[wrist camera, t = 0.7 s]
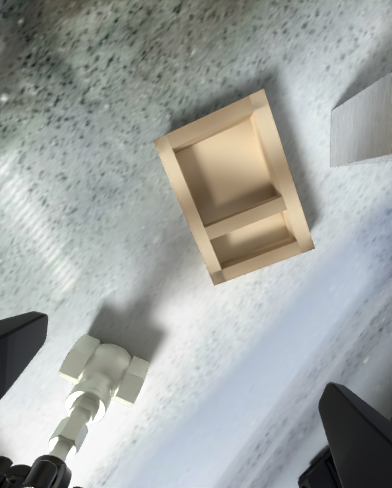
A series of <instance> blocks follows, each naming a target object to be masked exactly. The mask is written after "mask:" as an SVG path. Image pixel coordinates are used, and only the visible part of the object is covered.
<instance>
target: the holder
mask: <svg viewBox="0 0 392 488" xmlns="http://www.w3.org/2000/svg"><path fill="white" fill-rule="evenodd" d="M153 142H154V144H155V147H156V149H157V151H158V154H159V156H160V159H161V161H162V163H163V166H164V168H165V170H166V173H167V175H168V177H169V180H170V182H171V185H172V187H173V189H174V192H175V194H176V196H177V199H178V201H179V203H180V206H181V208H182V211H183V213H184V215H185V218H186V220H187V222H188V225H189V227H190V229H191V232H192V234H193V237H194V239H195V241H196V244H197V246H198V248H199V251H200V253H201V255H202V258H203V260H204V263H205V265H206V267H207V270H208V272H209V274H210V277H211V279H212V281H213V284H214V286H215V285H217V284H220V283H223V282H225V281H228V280H231V279H233V278H236V277H239V276H242V275H244V274H247V273H250V272H252V271H255V270H258V269H261V268H263V267H266V266H269V265H271V264H274V263H277V262H279V261H282V260H285V259H288V258H290V257H293V256H296V255H298V254H301V253H304V252H307V251H309V250H312V249H315V247H314V244H313V241H312V238H311V235H310V232H309V228H308V225H307V222H306V219H305V216H304V213H303V210H302V207H301V203H300V200H299V197H298V194H297V191H296V188H295V185H294V182H293V178H292V175H291V172H290V169H289V166H288V163H287V160H286V156H285V153H284V150H283V147H282V144H281V141H280V138H279V135H278V131H277V128H276V125H275V122H274V119H273V116H272V113H271V110H270V106H269V103H268V100H267V97H266V94H265V91H264V89H262V90H260V91H258V92H255V93H253V94H251V95H249V96H247V97H245V98H243V99H240V100H238V101H236V102H234V103H232V104H230V105H228V106H226V107H223V108H221V109H219V110H217V111H215V112H213V113H211V114H208V115H206V116H204V117H202V118H200V119H198V120H196V121H194V122H191V123H189V124H187V125H185V126H183V127H181V128H179V129H176V130H174V131H172V132H170V133H168V134H166V135H164V136H162V137H159V138H157V139H155V140H153Z"/></svg>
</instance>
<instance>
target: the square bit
mask: <svg viewBox="0 0 392 488" xmlns="http://www.w3.org/2000/svg"><path fill="white" fill-rule="evenodd" d="M386 161H392V71H391V72H390V73H388V74H387V75H385V76H383V77H382V78H380V79H379V80H377V81H376V82H374V83H373V84H371V85H370V86H368V87H367V88H365V89H364V90H362V91H361V92H359V93H358V94H356V95H355V96H353V97H352V98H350V99H349V100H347V101H346V102H344V103H343V104H341V105H340V106H338V107H337V108H335V109H334V110H332V111H331V142H330V167H340V166H350V165H359V164H369V163H379V162H386Z"/></svg>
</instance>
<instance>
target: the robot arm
mask: <svg viewBox="0 0 392 488" xmlns="http://www.w3.org/2000/svg"><path fill="white" fill-rule="evenodd" d="M47 326H48V316H47V315H46V314H44V313H40V312H36V311H32V312H28V313H25V314H21V315H17V316H14V317H10V318H6V319H2V320H0V400H1V398H2V397H3V396H4V395H5V394H6V392H7V391H8V390H9V389H10V387H11V386H12V385H13V384H14V382H15V381H16V380H17V378H18V377H19V376H20V374H21V373H22V372H23V371H24V369H25V368H26V367H27V365H28V364H29V363H30V361H31V360H32V359H33V357H34V356H35V355H36V354H37V352H38V351H39V350H40V348H41V347H42V346H43V344H44V342H45V340H46V336H47ZM319 413H320V416H321V420H322V423H323V426H324V430H325V433H326V436H327V440H328V443H329V447H330V450H329V451H328V452H327V453H326V454H325V455H324V456H323V457H322V458H321V459H320V460H319V461H318V462H317V463H316V464H315V465H314V466H313V467H312V468H311V469H310V470H309V471H308V472H307V473H306V474H305V475H304V476H303V477H302V478H301V479H300V480H299V481H298V485H299V488H392V422H390V421H389V420H388V419H386V418H385V417H384V416H383V415H381V414H380V413H379V412H377V411H376V410H375V409H374V408H372V407H371V406H370V405H368V404H367V403H366V402H365V401H363V400H362V399H361V398H359V397H358V396H357V395H356V394H354V393H353V392H352V391H351V390H349V389H348V388H347V387H345V386H344V385H342V384H337V383H333V382H329V383H328V384H327V385H326V387H325V389H324V392H323V394H322V396H321V398H320V401H319Z"/></svg>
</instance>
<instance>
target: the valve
mask: <svg viewBox="0 0 392 488" xmlns="http://www.w3.org/2000/svg"><path fill="white" fill-rule="evenodd" d="M100 342H101V341H100V340H98V339H96V338H93V337H91V336H89V335H87V334H85V335H83V336H82V337H80V338H79V339H78V341H77V342H76V343H75V344H74V346H73V347H72V349H71V350H70V352H69V353H68V355H67V356H66V358H65V360H64V362H63V364H62V366H61V368H60V370H59V376H60V378H62V379H64V380H66V381H69V382H71V383H73V384H76V386H75V387H74V389H73V390H72V391H71V393H70V394H69V396H68V398H67V400H66V409H67V412H68V415H69V417H67V418H65V419H63V420H62V421H61V422H60V424H59V425H58V427H57V428H56V430H55V432H54V433H53V435H52V436H51V438H50V439H49V446H50V450H51V452H50V454H49V455H43V456H40V457H38V458H37V459H36V460H35V462H34V463H33V465H32V466H31V467H30V466H28V465H21V464H20V465H15V466H12V467H10V466H11V465H12V464H13V462H12V461H11V460H10V459H9V458H7V457H4V456H0V488H68V486H69V483H70V480H71V476H72V475H71V470H70V469H69V468H68V467H67V465H66V464H65V462H64V461H65V460H66V458H69V457H71V456H73V455H75V454H76V453H77V452H78V451H79V449H80V447H81V445H82V443H83V441H84V439H85V437H86V435H87V433H88V429H87V425H88V424H91V423H96V422H98V421H99V420H101V419H102V418H103V416H104V415H105V413H106V410H107V408H108V406H109V404H110V400H111V397H114V399H113V401H115V402H118V403H120V404H122V405H125V406H127V407H131V406H133V404H134V402H135V400H136V398H137V396H138V394H139V392H140V390H141V387H142V385H143V382H144V380H145V377H146V375H147V372H148V369H149V362H148V361H145V360H143V359H141V358H139V357H136V356H134V357H133V358H131V357H130V355H129V353H128V352H127V351H126V350H125V349H124V348H122V347H120V346H118V345H115V344H101V345H100ZM73 488H82V487H73Z"/></svg>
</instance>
